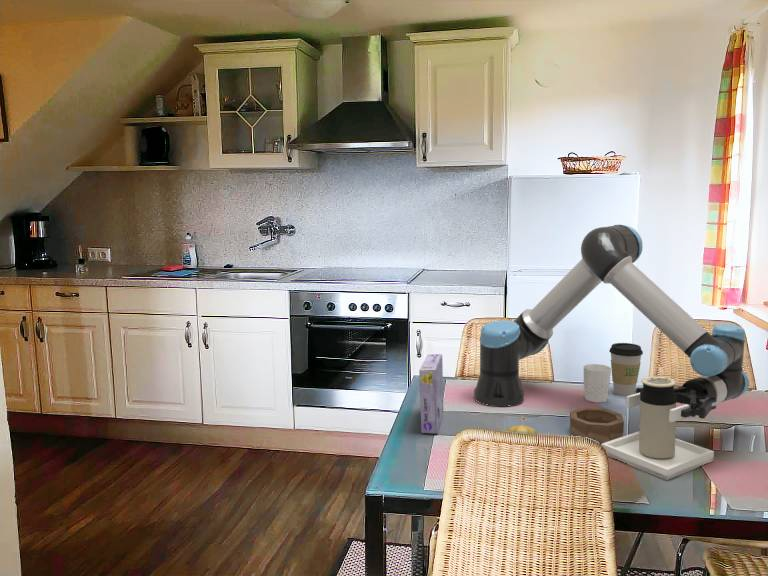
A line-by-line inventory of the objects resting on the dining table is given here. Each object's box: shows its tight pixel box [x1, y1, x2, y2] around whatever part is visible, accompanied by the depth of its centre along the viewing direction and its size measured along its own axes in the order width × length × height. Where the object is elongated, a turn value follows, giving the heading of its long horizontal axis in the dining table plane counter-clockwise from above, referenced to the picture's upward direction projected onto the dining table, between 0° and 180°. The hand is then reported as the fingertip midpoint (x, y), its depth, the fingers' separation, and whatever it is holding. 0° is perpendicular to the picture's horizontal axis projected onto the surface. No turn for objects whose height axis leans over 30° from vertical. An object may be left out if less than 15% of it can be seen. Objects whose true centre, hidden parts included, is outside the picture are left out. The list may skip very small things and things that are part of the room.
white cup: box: [583, 363, 612, 403], centre depth 203 cm, size 8×8×10 cm
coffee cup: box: [609, 342, 644, 397], centre depth 209 cm, size 10×10×15 cm
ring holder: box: [569, 407, 625, 443], centre depth 176 cm, size 13×13×5 cm
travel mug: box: [638, 375, 677, 459], centre depth 160 cm, size 8×8×18 cm
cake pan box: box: [418, 353, 445, 435], centre depth 185 cm, size 19×5×18 cm, turn 169°
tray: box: [600, 430, 715, 481], centre depth 161 cm, size 18×18×2 cm
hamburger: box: [506, 415, 538, 434], centre depth 155 cm, size 8×7×12 cm
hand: (648, 408), depth 157 cm, fingers open, 11 cm apart
